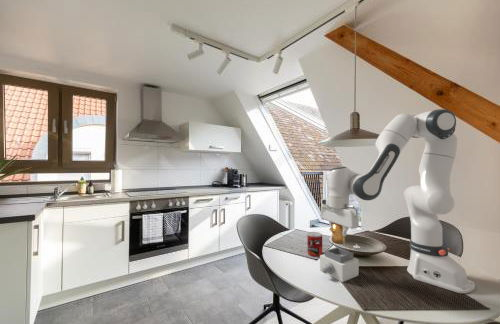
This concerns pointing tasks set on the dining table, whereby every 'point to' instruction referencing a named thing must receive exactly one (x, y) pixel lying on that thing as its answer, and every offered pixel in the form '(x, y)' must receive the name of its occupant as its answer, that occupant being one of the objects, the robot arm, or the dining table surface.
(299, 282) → the dining table surface
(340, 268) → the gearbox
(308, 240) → the canned food
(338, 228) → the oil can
